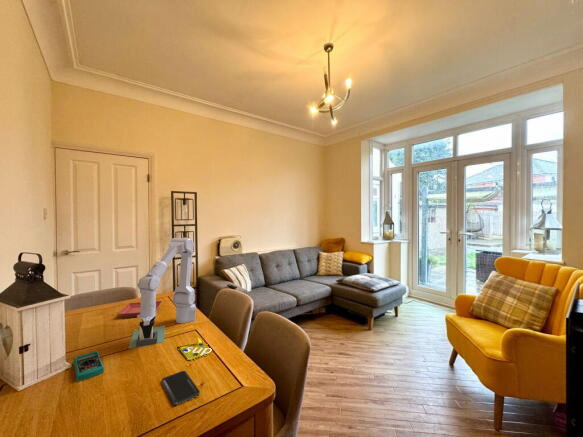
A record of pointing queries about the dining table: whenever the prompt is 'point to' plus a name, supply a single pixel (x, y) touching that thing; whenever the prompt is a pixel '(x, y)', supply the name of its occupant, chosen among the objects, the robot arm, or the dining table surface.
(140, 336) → the keyed plug
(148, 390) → the dining table surface
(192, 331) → the dining table surface
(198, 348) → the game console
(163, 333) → the board
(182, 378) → the phone
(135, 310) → the plant saucer
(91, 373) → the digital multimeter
